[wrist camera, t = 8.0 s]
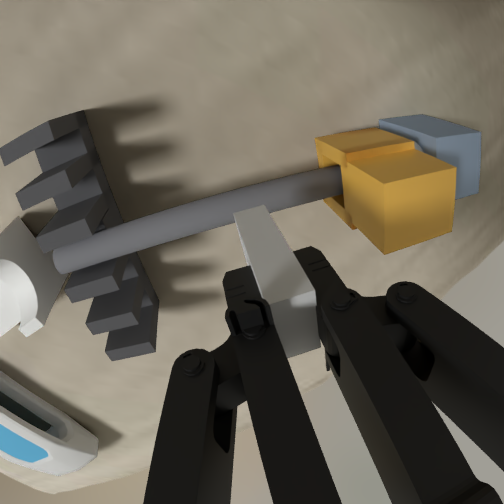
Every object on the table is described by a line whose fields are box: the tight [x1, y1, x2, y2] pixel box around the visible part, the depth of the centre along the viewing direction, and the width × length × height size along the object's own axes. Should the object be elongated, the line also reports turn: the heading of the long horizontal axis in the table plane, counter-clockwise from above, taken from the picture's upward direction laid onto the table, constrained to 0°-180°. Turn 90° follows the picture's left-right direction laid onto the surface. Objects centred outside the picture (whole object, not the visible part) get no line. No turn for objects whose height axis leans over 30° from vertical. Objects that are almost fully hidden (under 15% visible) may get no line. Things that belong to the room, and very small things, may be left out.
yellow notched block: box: [315, 127, 457, 255], centre depth 19 cm, size 5×5×9 cm
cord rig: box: [0, 110, 481, 361], centre depth 21 cm, size 32×18×8 cm, turn 102°
